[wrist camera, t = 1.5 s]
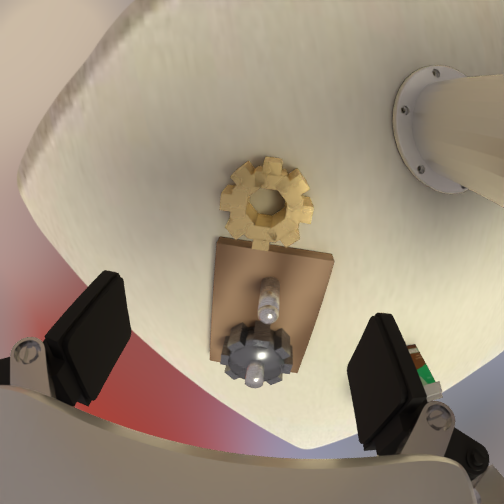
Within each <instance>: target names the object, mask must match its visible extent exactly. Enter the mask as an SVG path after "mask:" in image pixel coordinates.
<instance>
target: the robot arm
mask: <svg viewBox="0 0 504 504" xmlns="http://www.w3.org/2000/svg"><path fill="white" fill-rule="evenodd" d="M401 108H402V109H403V113H402V112H401ZM393 129H394V137H395V140H396V144H397V147H398V150H399V152H400V155H401V157H402V159H403V161H404V163H405V164H406V166H407V167H408V169H409V170H410V172H411V173H412V174H413V175H414V176H415V177H416V178H417V179H418V180H419V181H421V182H422V183H423V184H425V185H426V186H428V187H430V188H432V189H434V190H436V191H439V192H442V193H446V194H457V193H462V192H465V191H467V190H469V189H470V190H472V191H474V192H476V193H478V194H480V195H482V196H483V197H485V198H487V199H489V200H491V201H493V202H494V203H496V204H498V205H500V206H501V207H503V208H504V74H500V75H486V76H475V77H468V76H466V75H465V74H463V73H462V72H460V71H458V70H456V69H454V68H451V67H448V66H442V65H434V66H428V67H424V68H421V69H419V70H417V71H415V72H413V73H412V74H411V75H410V76H409V77H408V78H406V79H405V81H404V82H403V84H402V85H401V87H400V88H399V91H398V93H397V96H396V98H395V103H394V108H393ZM418 166H419V169H418V170H417V168H418ZM130 336H131V326H130V321H129V315H128V309H127V302H126V295H125V288H124V281H123V278H121V277H120V275H119V273H116V272H112V271H107V270H104V271H103V272H102V273H101V274H100V275H99V276H98V277H97V278H96V279H95V280H94V281H93V282H92V283H91V284H90V285H89V286H88V287H87V289H86V290H85V291H84V292H83V293H82V294H81V295H80V296H79V297H78V298H77V299H76V300H75V302H74V303H73V304H72V305H71V306H70V307H69V308H68V309H67V311H66V312H65V313H64V314H63V315H62V317H60V319H59V320H58V321H57V322H56V323H55V324H54V326H53V327H52V328H51V329H50V330H49V331H48V333H47V334H46V335H45V340H44V341H43V342H42V341H41V340H39V339H38V338H34V337H27V338H24V339H21V340H20V341H18V342H17V343H16V344H15V345H14V346H13V348H12V350H11V354H10V357H8V358H4V359H0V504H504V478H503V476H502V475H501V474H500V473H499V472H498V470H497V469H496V468H495V467H494V466H493V465H490V466H488V465H489V455H488V452H487V450H486V448H485V447H484V446H483V445H481V444H480V443H478V442H477V441H475V440H473V439H472V438H470V437H469V436H467V435H465V434H464V433H462V432H461V431H459V430H458V429H456V428H455V427H454V426H455V416H454V414H453V412H452V410H451V409H450V408H449V407H448V406H447V405H446V404H444V403H442V402H439V401H432V402H429V403H428V401H427V399H426V398H427V395H426V392H425V389H424V387H423V384H422V382H421V379H420V377H419V374H418V372H417V369H416V367H415V364H414V362H413V360H412V357H411V355H410V353H409V350H408V348H407V346H406V344H405V341H404V339H403V337H402V335H401V332H400V330H399V328H398V326H397V324H396V322H395V320H394V318H393V316H392V314H387V313H376V314H375V316H372V317H371V318H370V320H369V322H368V324H367V326H366V329H365V331H364V333H363V335H362V337H361V339H360V341H359V344H358V346H357V348H356V350H355V352H354V354H353V356H352V358H351V360H350V362H349V364H348V367H347V375H348V380H349V385H350V390H351V395H352V401H353V407H354V412H355V418H356V424H357V430H358V437H359V442H360V443H361V444H363V447H364V451H367V450H376V452H377V456H376V457H364V458H344V459H291V458H274V457H262V456H253V455H244V454H236V453H229V452H223V451H217V450H211V449H205V448H200V447H196V446H191V445H187V444H182V443H177V442H174V441H170V440H166V439H162V438H158V437H155V436H151V435H148V434H145V433H141V432H138V431H135V430H132V429H129V428H126V427H123V426H120V425H117V424H115V423H112V422H109V421H106V420H104V419H101V418H98V417H96V416H94V415H91V414H89V413H86V412H84V411H81V410H79V409H77V408H75V407H74V406H75V404H76V402H79V403H82V404H84V405H86V406H89V404H90V403H91V401H92V400H93V401H94V400H95V399H96V398H97V396H98V395H99V393H100V391H101V389H102V387H103V385H104V383H105V382H106V380H107V378H108V376H109V374H110V372H111V371H112V369H113V367H114V365H115V363H116V362H117V360H118V358H119V356H120V355H121V353H122V351H123V349H124V348H125V346H126V344H127V342H128V341H129V339H130Z"/></svg>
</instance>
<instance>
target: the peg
mask: <svg viewBox="0 0 504 504" xmlns="http://www.w3.org/2000/svg"><path fill="white" fill-rule="evenodd" d="M279 295H280V283H279V281H278V280H277V279H276V278H275V277H266V278H264V279H263V280H262V282H261V288H260V297H259V305H258V318H259V320H260V321H261V322H262V323H264V324H272V323H274V322H275V321H276V320H277V319H278V317H279Z"/></svg>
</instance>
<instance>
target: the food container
mask: <svg viewBox="0 0 504 504" xmlns="http://www.w3.org/2000/svg"><path fill="white" fill-rule="evenodd" d="M407 348H408V350H409V353H410V355H411V357H412V360H413V362H414V364H415V367H416V369H417V372H418V374H419V377H420V379H421V382H422V384H423V387H424V389H425V392H426V395H427V398H426V399H427V401H428V403H429V402H432V401H433V400H436V399H440V398H442V397H443V396H442V394H441V393H442V389H441V385H440V381H438V382H435V380H434V378H433V376H432V374H431V372H430V370H429V368H428V367H427V365H426V363H425V361H424V359H423V357H422V356H421V354H420V352H419V350H418V349H417V347H416V345H415V344H414V345H408V346H407Z"/></svg>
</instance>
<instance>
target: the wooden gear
mask: <svg viewBox="0 0 504 504" xmlns="http://www.w3.org/2000/svg"><path fill="white" fill-rule="evenodd" d="M231 179H232V180H233V181H234V182H235V184H236V185H227V186H226V188H225V189H224V190H223V191H222V193H221V199H220V209H219V210H223V211H230V218H229V220H228V222H227V224H226V226H225V228H226V229H227V230H228V231H229V233H230V234H231V235H232V236H233V237H234V239H235V240H236V239H238V238H239V237H241V236H242V235H245V236H246V237H247V238H249V239H253V243H252V249H256V250H262V251H268V250H269V244H270V242H275V243H276V242H277V241H279V240H281V242H282V243H283V244H284V246H285V247H286V248H287V247H288V246H290V245H291V244H293V243H294V242H296V241H297V240H299V239H300V235H299V229H298V228H299V223H300V222H302V223H308V224H311V219H312V215H313V210H314V206H313V204H312V201H311V199H310V197H306V196H303V195H302V194H304V193H305V192H306V191H308V190H309V189H310V188H309V186H308V183H307V181H306V180H305V178H304V177H303V175H302V174H301V173H300V171H299V170H298V169H297V168H296V169H295V170H293V171H292V172H291V173H288V172H287V171H286V169H282V159H280V158H273V157H267V156H266V157H265V160H264V164H263V166H260V165H259V166H258V167H257V168H254V167H253V165H252V164H251V163H250V162H249V161H247V162H246V163H245V164H243V165H242V166H241V167H240V168H238V169H237V170H236V171H235V172H234V173H233V174H232V175H231ZM260 188H266V189H273V190H278V191H279V193H280V194H281V195H282V197H283V198H284V199H285V207H284V208H283V209H281V210H280V211H279V212H277V213H276V214H274V215H273V216H272V215H266V214H259V213H257V211H256V210H255V209H254V207H253V206H252V205H251V204H250V202H249V200H250V195H251V194H253V193H254V192H255V191H257V190H258V189H260Z"/></svg>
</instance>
